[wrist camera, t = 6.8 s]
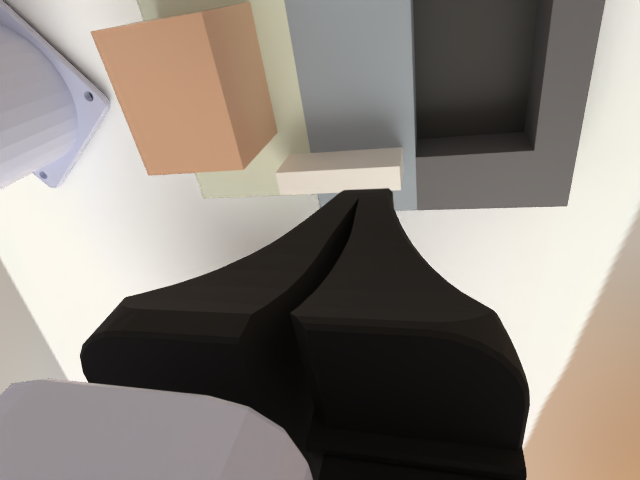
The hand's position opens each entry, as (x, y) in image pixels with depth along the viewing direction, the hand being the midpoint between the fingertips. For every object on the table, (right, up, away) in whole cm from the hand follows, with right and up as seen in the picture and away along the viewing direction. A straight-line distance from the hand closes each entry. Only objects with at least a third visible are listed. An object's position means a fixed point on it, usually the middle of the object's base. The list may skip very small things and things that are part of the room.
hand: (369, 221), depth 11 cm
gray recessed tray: (+3, +8, +6) cm, 10 cm away
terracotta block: (-6, +6, +6) cm, 10 cm away
